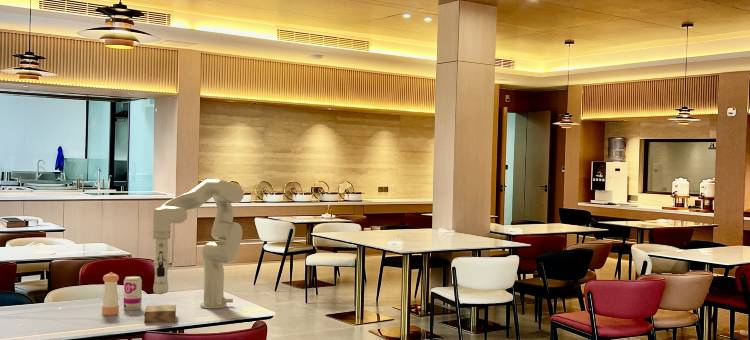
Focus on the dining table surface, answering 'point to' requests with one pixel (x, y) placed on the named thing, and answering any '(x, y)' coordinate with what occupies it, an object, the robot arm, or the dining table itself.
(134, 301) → the supplement can
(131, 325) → the dining table surface
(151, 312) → the walnut block
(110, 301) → the pepper shaker
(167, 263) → the plastic bottle
